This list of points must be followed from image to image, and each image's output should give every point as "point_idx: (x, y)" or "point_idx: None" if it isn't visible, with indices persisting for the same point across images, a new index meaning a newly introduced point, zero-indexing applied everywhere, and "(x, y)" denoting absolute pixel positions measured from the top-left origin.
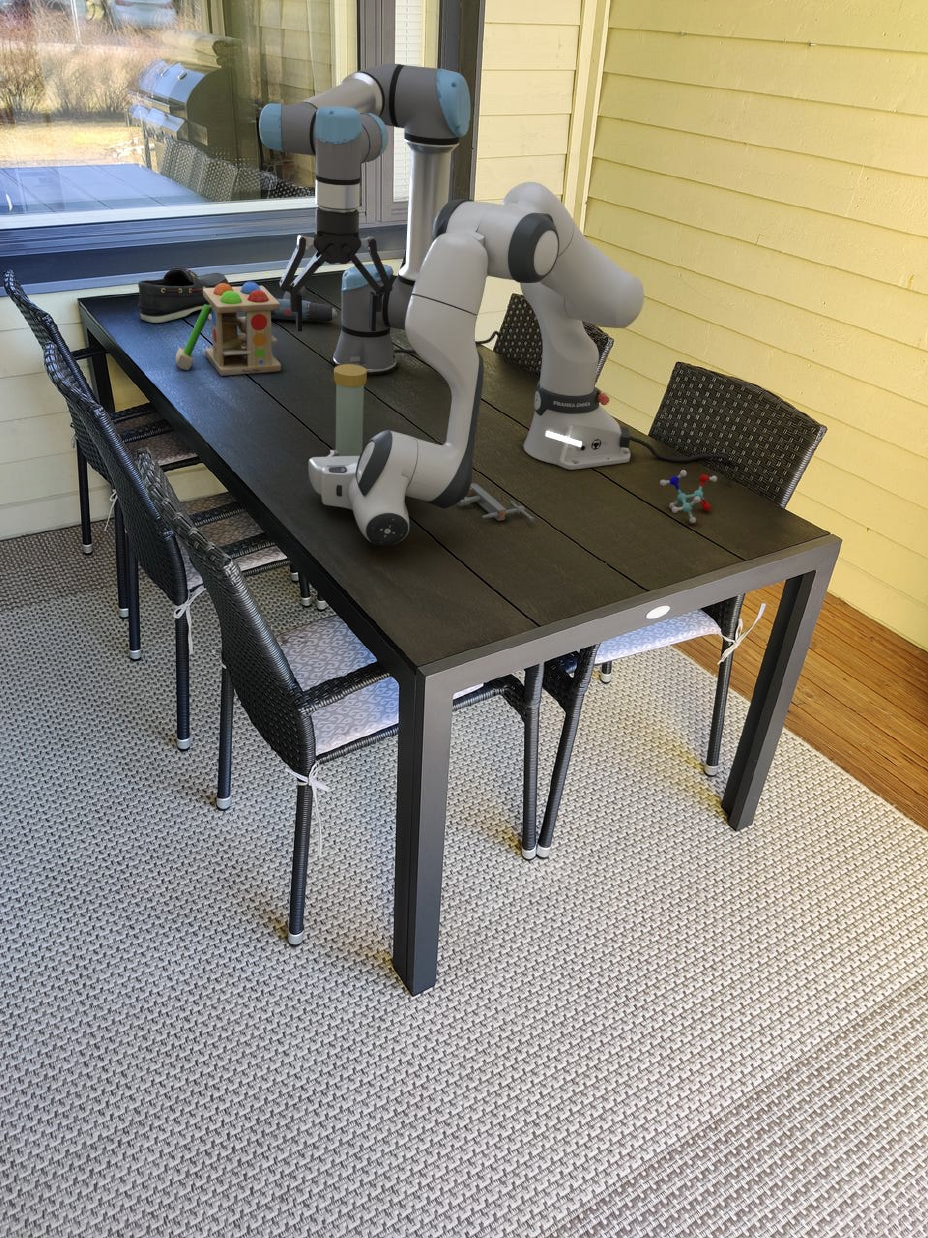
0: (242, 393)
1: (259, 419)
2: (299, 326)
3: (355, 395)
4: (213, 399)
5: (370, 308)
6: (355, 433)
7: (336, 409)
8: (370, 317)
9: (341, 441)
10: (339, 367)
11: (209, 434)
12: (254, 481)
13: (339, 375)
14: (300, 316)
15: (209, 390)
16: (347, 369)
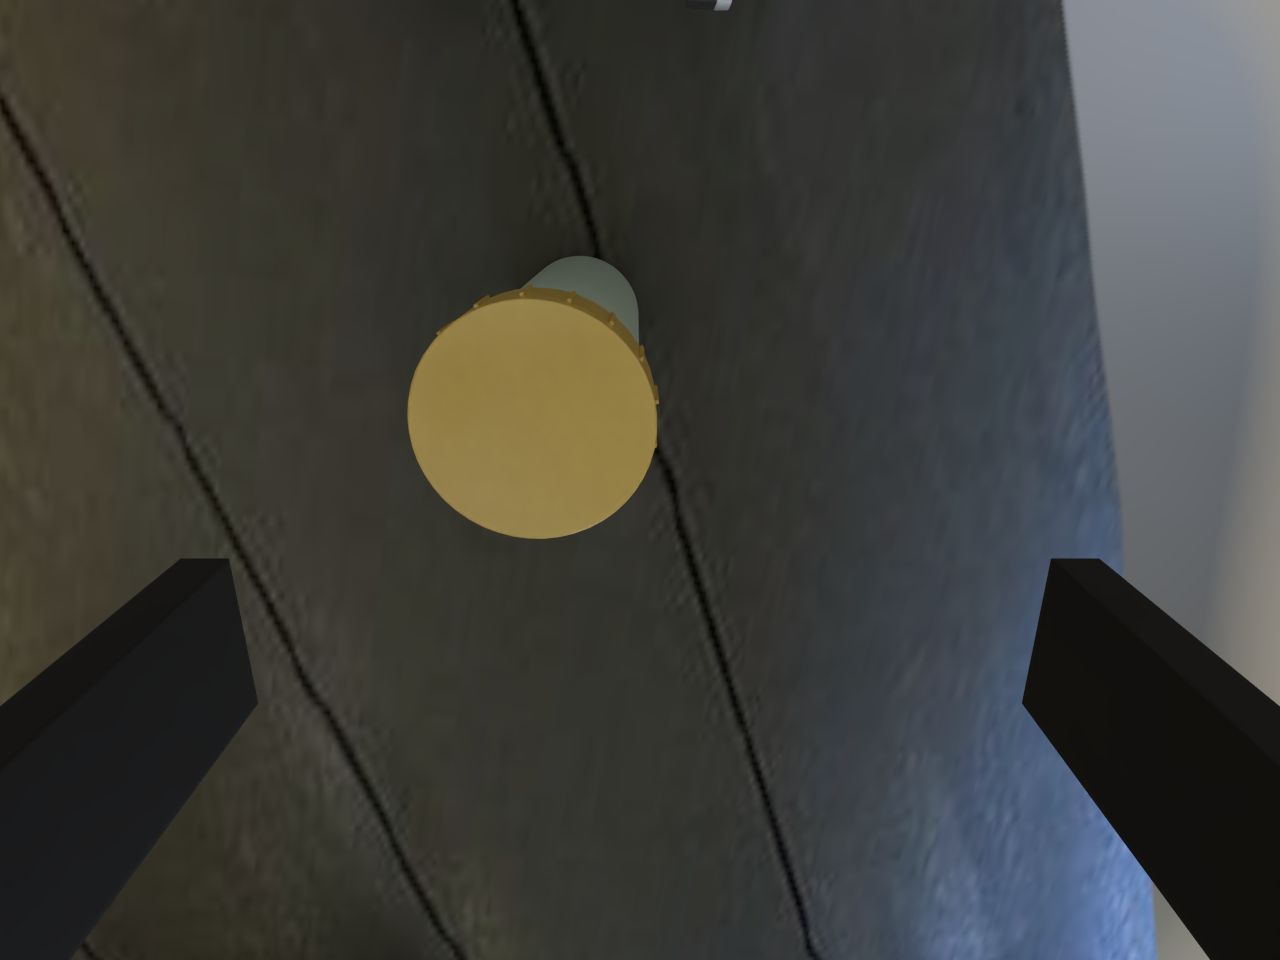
0: (884, 887)
1: (873, 683)
2: (1117, 583)
3: None
4: (998, 848)
5: (102, 814)
6: (548, 271)
7: None
8: (171, 713)
9: (619, 284)
10: (609, 474)
11: None
12: (1040, 103)
13: (631, 346)
14: (1181, 655)
15: (993, 914)
16: (554, 432)
